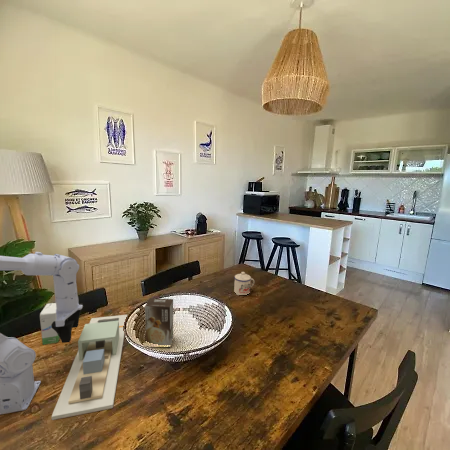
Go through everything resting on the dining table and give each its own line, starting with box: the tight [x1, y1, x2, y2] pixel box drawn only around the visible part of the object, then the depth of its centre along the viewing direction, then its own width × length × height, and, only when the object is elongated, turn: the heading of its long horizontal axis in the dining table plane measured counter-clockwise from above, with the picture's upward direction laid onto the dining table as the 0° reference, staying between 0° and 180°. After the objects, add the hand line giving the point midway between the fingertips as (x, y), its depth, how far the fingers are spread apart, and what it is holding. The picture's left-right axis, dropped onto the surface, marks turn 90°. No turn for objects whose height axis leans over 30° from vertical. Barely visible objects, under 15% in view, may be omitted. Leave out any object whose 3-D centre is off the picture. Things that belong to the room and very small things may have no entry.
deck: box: [51, 314, 128, 421], centre depth 87 cm, size 46×14×1 cm, turn 16°
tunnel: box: [77, 320, 119, 360], centre depth 88 cm, size 10×11×8 cm
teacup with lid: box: [233, 271, 255, 296], centre depth 138 cm, size 12×9×12 cm
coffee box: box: [144, 297, 174, 346], centre depth 93 cm, size 9×6×16 cm
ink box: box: [39, 302, 61, 345], centre depth 94 cm, size 8×5×12 cm, turn 19°
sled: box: [68, 340, 113, 404], centre depth 78 cm, size 24×8×5 cm, turn 16°
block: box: [83, 349, 105, 374], centre depth 78 cm, size 5×5×4 cm
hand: (70, 334), depth 80 cm, fingers open, 7 cm apart
